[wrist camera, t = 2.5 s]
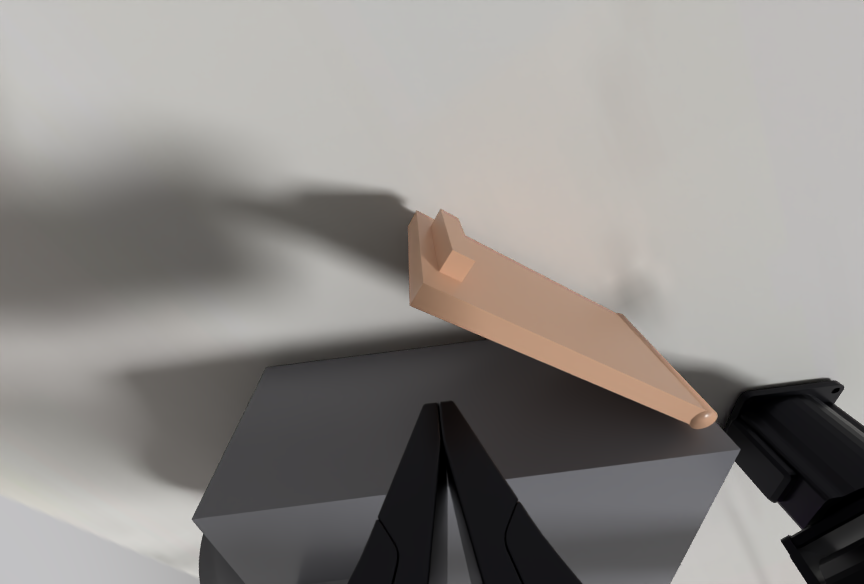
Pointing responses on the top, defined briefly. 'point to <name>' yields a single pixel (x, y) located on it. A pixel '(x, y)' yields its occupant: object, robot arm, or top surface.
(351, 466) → the block
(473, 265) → the side door
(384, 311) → the top surface
